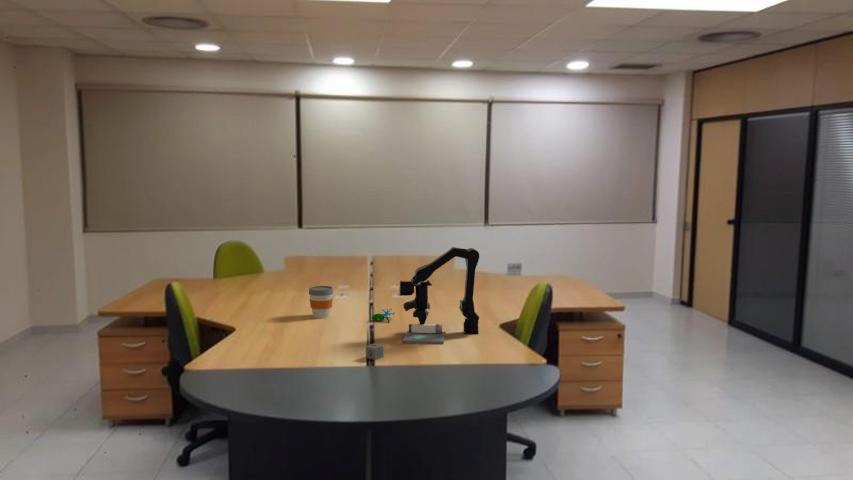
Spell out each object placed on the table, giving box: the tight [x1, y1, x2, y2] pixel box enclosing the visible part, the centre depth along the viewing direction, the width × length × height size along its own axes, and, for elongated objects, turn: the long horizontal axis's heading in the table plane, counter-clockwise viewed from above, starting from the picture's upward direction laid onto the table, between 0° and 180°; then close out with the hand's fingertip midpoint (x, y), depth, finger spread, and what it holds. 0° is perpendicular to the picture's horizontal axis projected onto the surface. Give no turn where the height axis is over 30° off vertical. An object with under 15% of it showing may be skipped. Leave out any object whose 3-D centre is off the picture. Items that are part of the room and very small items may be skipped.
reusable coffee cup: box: [308, 285, 334, 319], centre depth 332 cm, size 13×13×15 cm
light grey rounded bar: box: [408, 323, 443, 334], centre depth 293 cm, size 16×3×4 cm, turn 85°
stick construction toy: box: [371, 308, 396, 323], centre depth 320 cm, size 12×7×8 cm
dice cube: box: [365, 343, 384, 361], centre depth 261 cm, size 5×5×5 cm
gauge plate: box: [402, 330, 447, 345], centre depth 289 cm, size 18×16×1 cm
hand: (421, 327), depth 296 cm, fingers closed
